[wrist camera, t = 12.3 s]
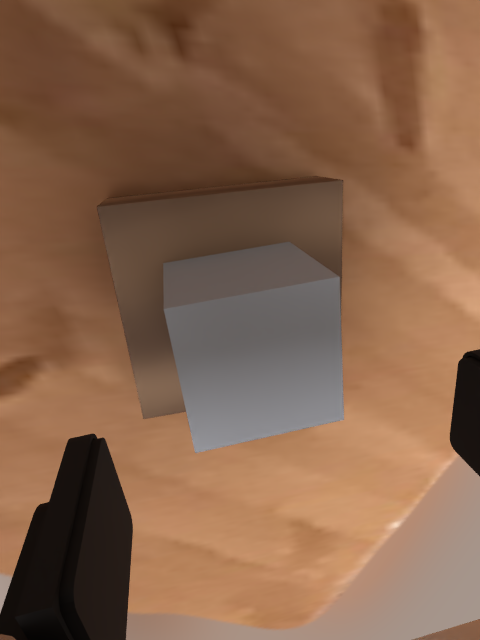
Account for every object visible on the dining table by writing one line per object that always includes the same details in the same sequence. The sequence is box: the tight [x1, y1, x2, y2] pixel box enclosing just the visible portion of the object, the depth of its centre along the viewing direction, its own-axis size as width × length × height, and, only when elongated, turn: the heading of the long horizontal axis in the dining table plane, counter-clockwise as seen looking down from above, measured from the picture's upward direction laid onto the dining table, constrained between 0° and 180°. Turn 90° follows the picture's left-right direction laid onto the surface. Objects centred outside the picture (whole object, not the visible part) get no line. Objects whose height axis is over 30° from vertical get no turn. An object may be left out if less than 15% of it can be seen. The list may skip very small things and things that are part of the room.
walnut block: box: [97, 176, 343, 419], centre depth 22 cm, size 11×11×4 cm
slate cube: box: [163, 242, 344, 453], centre depth 17 cm, size 6×6×6 cm
